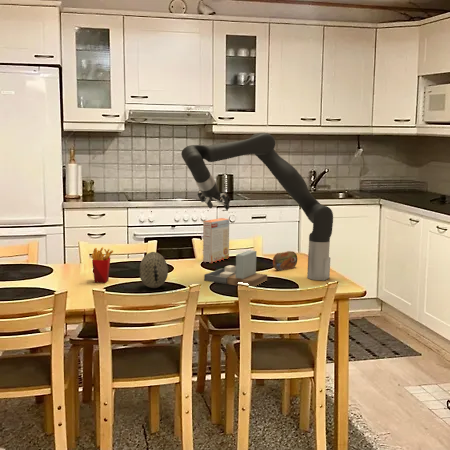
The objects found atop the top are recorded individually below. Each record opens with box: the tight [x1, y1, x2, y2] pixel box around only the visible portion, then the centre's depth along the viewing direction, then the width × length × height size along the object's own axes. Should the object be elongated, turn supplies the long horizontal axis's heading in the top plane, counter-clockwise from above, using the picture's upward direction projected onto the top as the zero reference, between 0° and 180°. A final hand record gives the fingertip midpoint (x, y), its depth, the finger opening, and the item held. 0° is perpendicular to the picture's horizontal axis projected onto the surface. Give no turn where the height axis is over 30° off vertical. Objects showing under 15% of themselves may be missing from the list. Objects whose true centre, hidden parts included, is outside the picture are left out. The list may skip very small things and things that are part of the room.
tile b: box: [220, 271, 234, 278], centre depth 268 cm, size 4×4×3 cm
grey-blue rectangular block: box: [235, 249, 257, 279], centre depth 266 cm, size 4×12×10 cm, turn 150°
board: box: [226, 272, 268, 287], centre depth 266 cm, size 12×14×3 cm
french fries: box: [91, 246, 114, 284], centre depth 260 cm, size 9×8×15 cm
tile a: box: [224, 264, 236, 274], centre depth 274 cm, size 4×4×3 cm
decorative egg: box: [138, 251, 169, 289], centre depth 253 cm, size 12×12×15 cm
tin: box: [272, 250, 298, 271], centre depth 294 cm, size 15×3×8 cm, turn 131°
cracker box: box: [202, 217, 230, 264], centre depth 307 cm, size 14×6×21 cm, turn 141°
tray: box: [203, 267, 236, 285], centre depth 272 cm, size 11×15×3 cm
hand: (219, 207), depth 275 cm, fingers open, 8 cm apart
